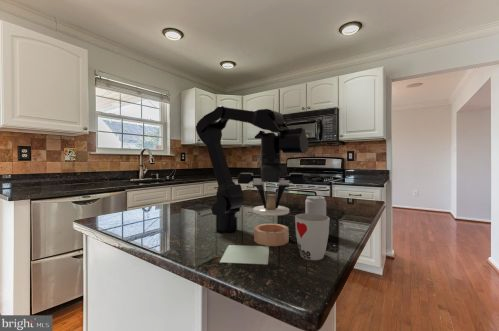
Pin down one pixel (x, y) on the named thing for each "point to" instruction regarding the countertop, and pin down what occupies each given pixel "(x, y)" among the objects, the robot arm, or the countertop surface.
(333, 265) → the countertop surface
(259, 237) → the bowl
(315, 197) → the beverage can
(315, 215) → the cup
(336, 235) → the countertop surface
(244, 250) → the mat
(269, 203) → the lid
